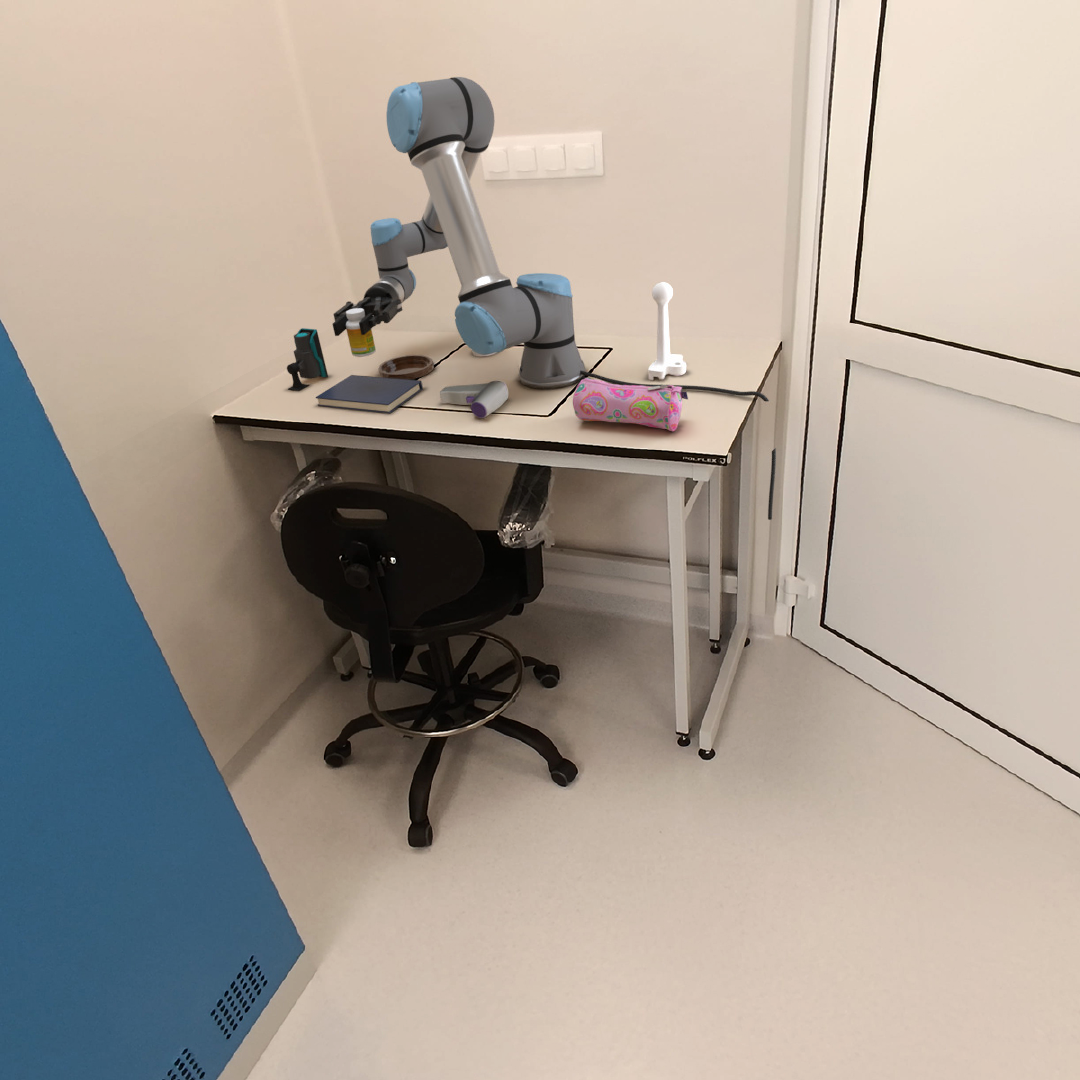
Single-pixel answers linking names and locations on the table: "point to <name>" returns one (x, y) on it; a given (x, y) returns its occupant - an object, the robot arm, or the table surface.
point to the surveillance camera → (307, 358)
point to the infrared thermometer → (477, 396)
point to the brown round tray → (406, 367)
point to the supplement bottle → (359, 334)
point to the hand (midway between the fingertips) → (348, 329)
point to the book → (370, 393)
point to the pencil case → (629, 403)
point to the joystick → (664, 337)
